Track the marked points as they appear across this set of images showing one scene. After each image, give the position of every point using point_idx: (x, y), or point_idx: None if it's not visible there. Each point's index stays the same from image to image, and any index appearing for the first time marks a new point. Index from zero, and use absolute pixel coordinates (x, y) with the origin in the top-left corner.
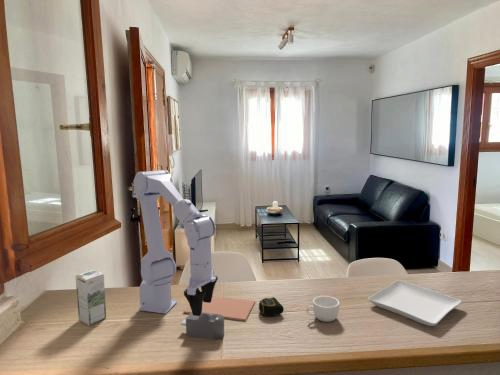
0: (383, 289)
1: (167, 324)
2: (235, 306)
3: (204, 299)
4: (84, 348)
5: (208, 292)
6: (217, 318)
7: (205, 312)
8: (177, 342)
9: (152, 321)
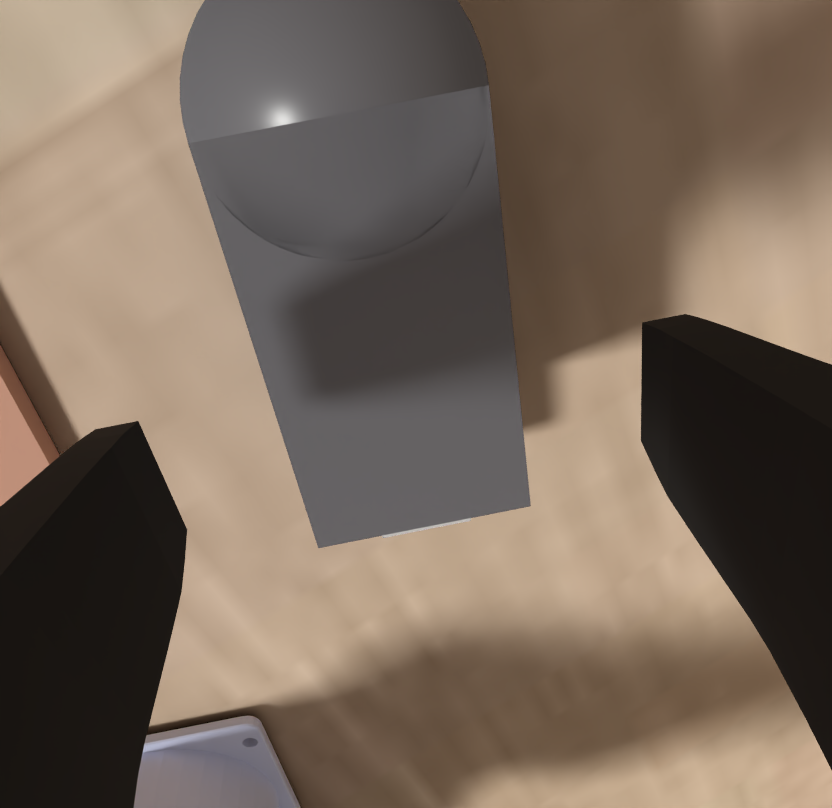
0: None
1: (388, 614)
2: None
3: (171, 554)
4: (807, 783)
5: (71, 621)
6: (335, 80)
7: (5, 460)
8: (618, 388)
9: (401, 713)
